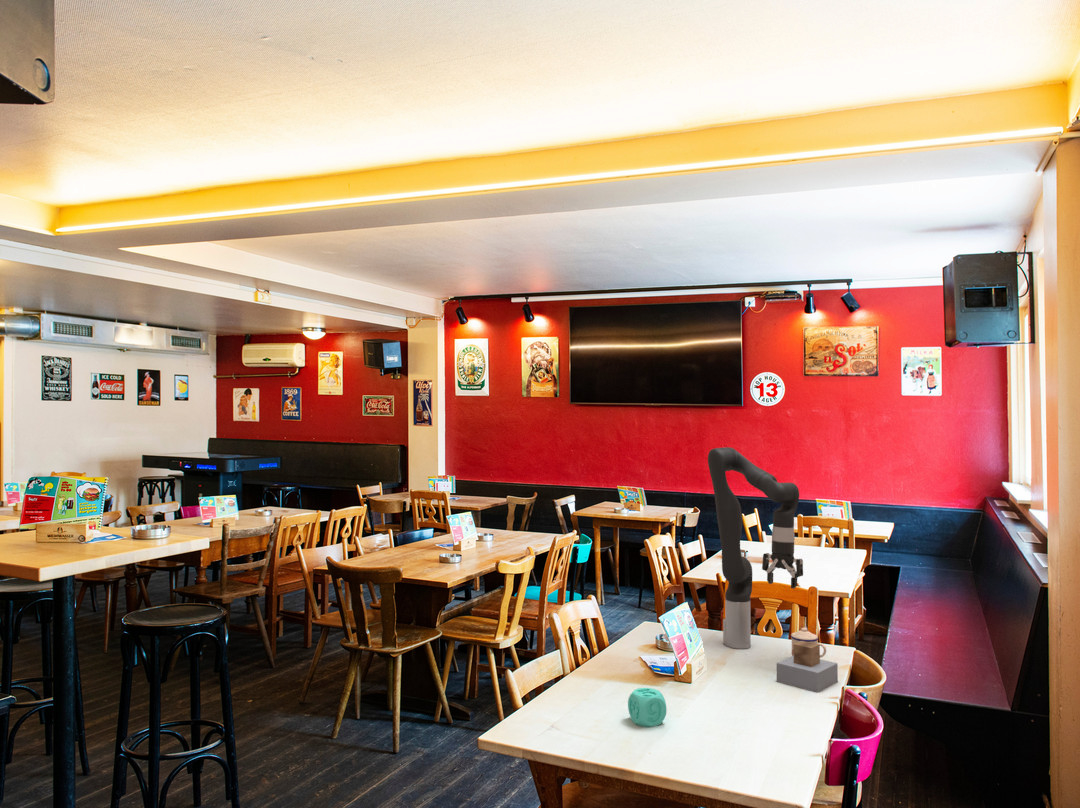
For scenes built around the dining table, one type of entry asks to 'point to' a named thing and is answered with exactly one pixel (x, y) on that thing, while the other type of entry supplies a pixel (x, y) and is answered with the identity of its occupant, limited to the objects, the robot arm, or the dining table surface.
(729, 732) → the dining table surface
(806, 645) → the walnut cube
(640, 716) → the decorative dice
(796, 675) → the slate plinth
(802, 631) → the teacup with lid
